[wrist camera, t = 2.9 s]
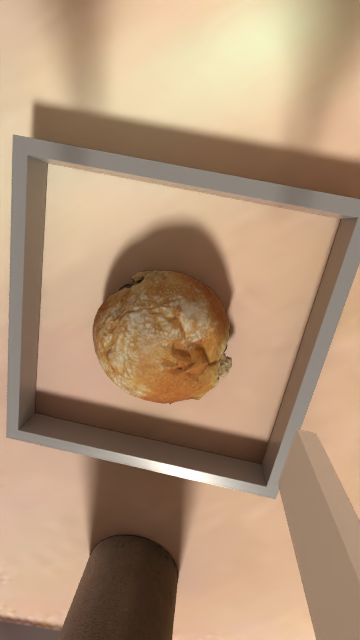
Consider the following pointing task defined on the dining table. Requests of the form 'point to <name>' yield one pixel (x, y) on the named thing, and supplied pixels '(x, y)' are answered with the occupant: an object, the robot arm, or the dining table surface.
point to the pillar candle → (124, 593)
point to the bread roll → (163, 337)
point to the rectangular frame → (24, 312)
